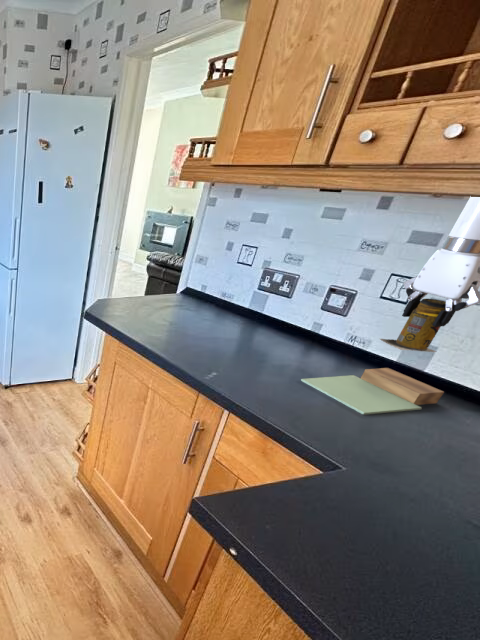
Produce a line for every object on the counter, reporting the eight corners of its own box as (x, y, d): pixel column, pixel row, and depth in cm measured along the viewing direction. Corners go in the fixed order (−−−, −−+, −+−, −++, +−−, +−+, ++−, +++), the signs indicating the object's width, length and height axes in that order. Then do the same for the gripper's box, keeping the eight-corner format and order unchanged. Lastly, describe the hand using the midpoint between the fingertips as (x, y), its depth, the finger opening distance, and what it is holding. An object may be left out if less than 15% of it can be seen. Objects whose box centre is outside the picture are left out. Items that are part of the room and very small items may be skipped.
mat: (352, 376, 121) (353, 375, 121) (420, 409, 106) (422, 407, 106) (300, 380, 118) (301, 378, 118) (363, 414, 103) (364, 412, 103)
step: (381, 378, 121) (388, 367, 119) (436, 403, 109) (444, 391, 107) (359, 380, 120) (365, 369, 118) (412, 405, 108) (419, 393, 106)
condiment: (436, 352, 103) (465, 306, 97) (400, 350, 104) (426, 304, 98) (412, 341, 110) (437, 297, 104) (377, 339, 110) (401, 295, 105)
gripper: (529, 254, 88) (476, 333, 96) (436, 239, 102) (397, 309, 111) (502, 254, 86) (451, 334, 95) (411, 239, 101) (374, 310, 110)
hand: (422, 320), depth 103 cm, fingers closed on condiment, 6 cm apart
